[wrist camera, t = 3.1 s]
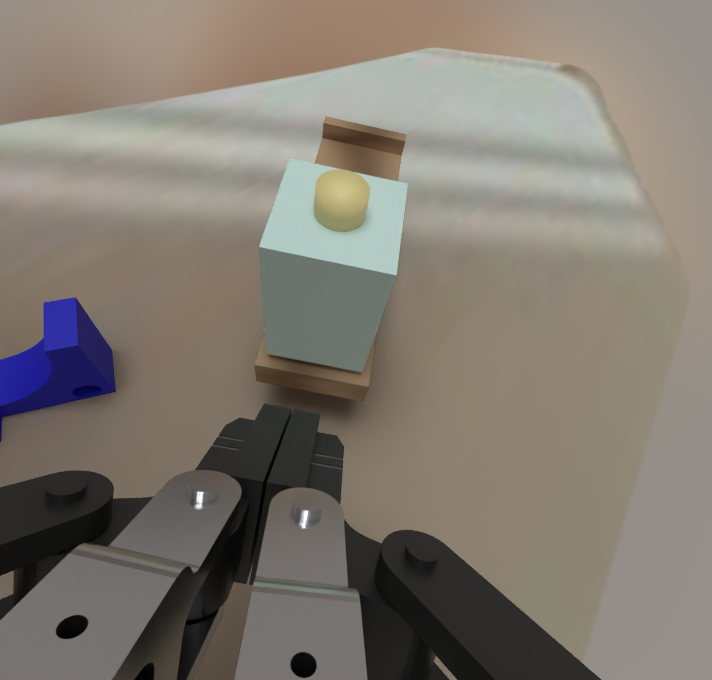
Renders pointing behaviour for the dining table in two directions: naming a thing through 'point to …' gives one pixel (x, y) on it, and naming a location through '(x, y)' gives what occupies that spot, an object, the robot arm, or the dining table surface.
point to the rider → (329, 263)
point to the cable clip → (58, 363)
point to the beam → (361, 155)
